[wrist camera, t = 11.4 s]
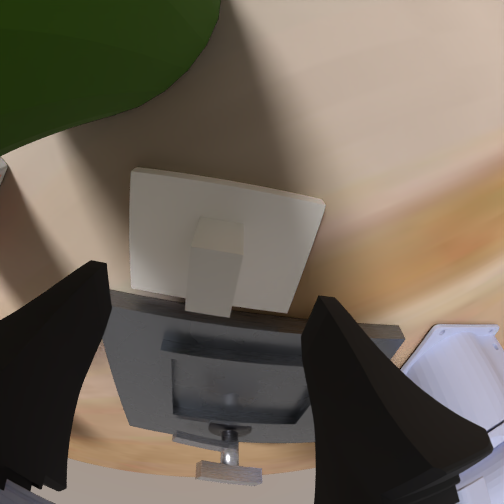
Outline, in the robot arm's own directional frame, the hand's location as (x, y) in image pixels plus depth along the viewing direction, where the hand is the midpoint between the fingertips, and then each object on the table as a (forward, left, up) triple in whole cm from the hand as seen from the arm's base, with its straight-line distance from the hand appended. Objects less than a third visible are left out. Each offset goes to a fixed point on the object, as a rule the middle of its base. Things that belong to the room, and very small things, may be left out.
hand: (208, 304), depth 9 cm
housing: (-3, +12, -4) cm, 13 cm away
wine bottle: (+6, -10, -4) cm, 12 cm away
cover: (0, 0, -5) cm, 5 cm away
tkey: (-2, +16, -3) cm, 17 cm away
